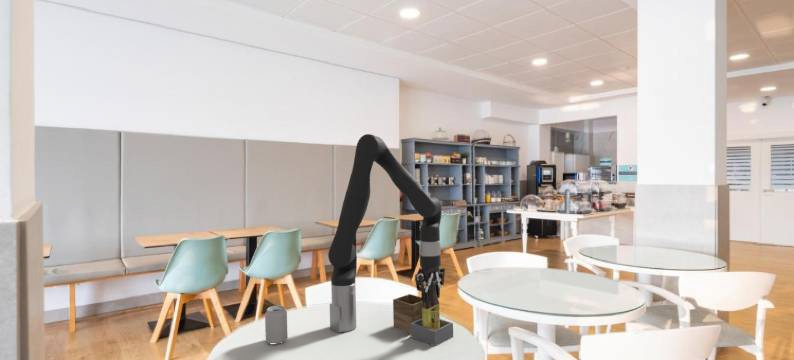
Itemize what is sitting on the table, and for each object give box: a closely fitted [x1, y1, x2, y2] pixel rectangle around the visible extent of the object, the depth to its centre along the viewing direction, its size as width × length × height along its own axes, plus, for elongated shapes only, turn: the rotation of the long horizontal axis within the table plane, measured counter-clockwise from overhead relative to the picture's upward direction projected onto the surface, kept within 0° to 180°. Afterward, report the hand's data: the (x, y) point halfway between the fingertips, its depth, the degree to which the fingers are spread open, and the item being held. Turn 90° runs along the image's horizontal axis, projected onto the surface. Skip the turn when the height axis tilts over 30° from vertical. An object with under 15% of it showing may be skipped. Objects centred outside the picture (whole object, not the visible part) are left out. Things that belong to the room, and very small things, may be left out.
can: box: [264, 305, 288, 344], centre depth 141 cm, size 8×8×12 cm
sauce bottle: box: [422, 281, 441, 330], centre depth 141 cm, size 6×6×20 cm
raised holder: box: [392, 293, 423, 334], centre depth 151 cm, size 9×10×10 cm
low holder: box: [410, 318, 454, 347], centre depth 141 cm, size 10×11×5 cm
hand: (430, 299), depth 141 cm, fingers closed on sauce bottle, 5 cm apart
